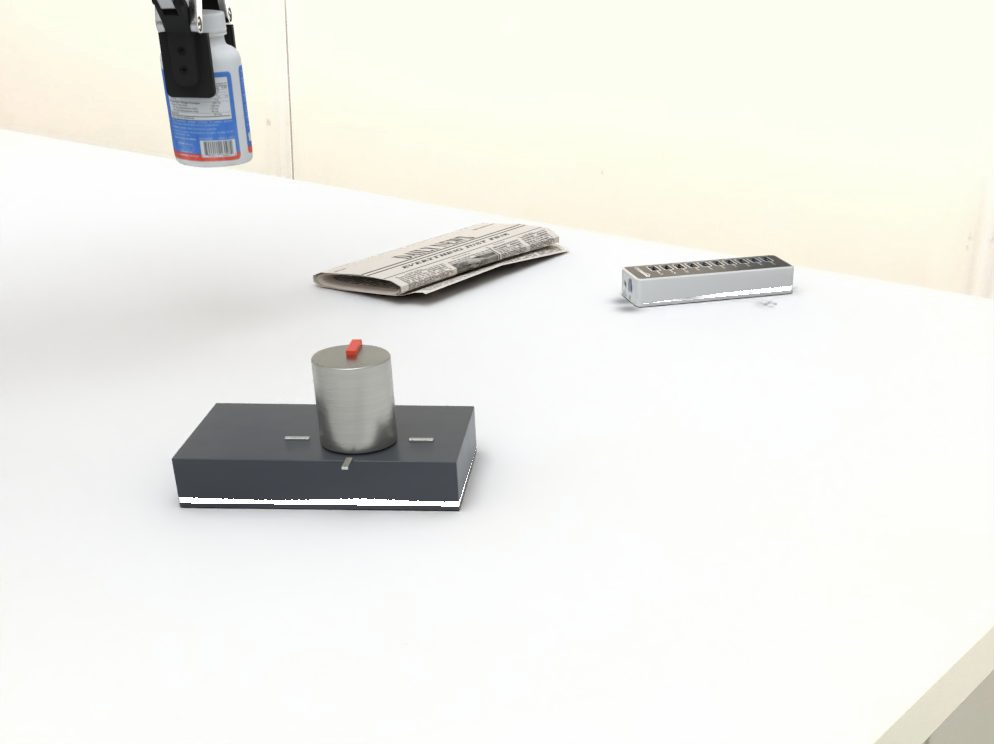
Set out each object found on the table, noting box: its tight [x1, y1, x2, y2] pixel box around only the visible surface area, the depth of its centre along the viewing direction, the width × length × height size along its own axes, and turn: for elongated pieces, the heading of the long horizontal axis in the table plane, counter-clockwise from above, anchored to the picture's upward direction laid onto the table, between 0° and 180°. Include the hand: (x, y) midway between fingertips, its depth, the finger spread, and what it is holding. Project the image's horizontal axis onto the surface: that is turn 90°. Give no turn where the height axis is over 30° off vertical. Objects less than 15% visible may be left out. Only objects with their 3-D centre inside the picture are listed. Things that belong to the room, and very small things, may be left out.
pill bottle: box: [159, 9, 254, 169], centre depth 93 cm, size 6×5×10 cm
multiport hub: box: [621, 254, 795, 308], centre depth 115 cm, size 4×14×2 cm, turn 110°
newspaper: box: [312, 222, 570, 297], centre depth 121 cm, size 23×12×2 cm, turn 146°
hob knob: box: [310, 338, 398, 454], centre depth 76 cm, size 4×4×5 cm
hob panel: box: [171, 402, 478, 511], centre depth 79 cm, size 16×10×3 cm, turn 90°
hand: (204, 88), depth 93 cm, fingers closed on pill bottle, 5 cm apart
